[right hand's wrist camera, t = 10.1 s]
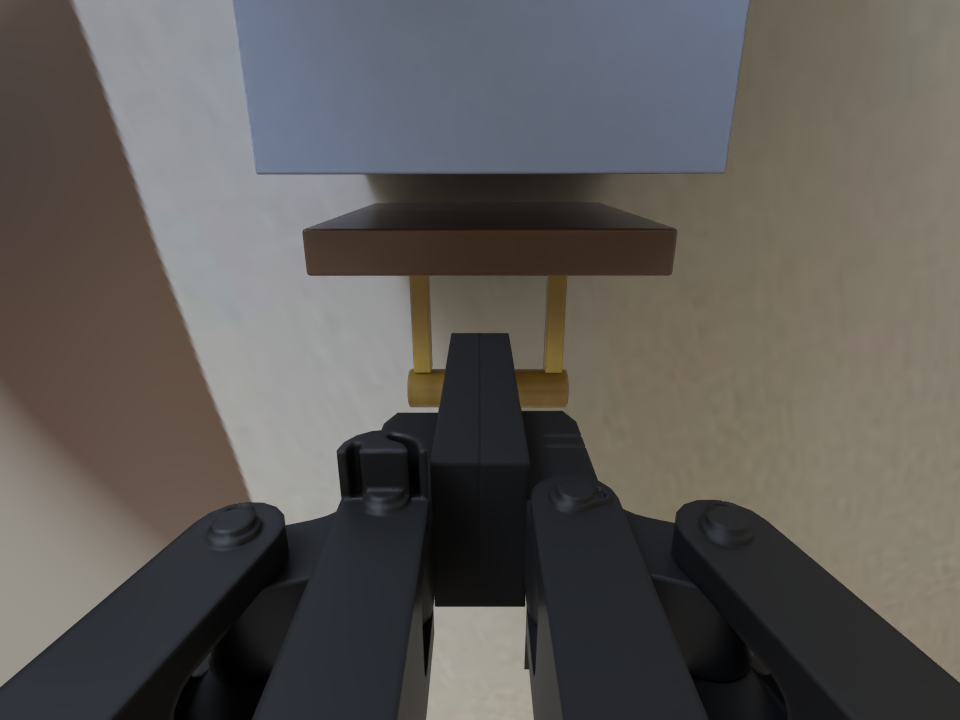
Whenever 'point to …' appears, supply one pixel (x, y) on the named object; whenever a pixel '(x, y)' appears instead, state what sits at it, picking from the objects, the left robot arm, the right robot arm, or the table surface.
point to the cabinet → (491, 85)
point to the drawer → (489, 265)
